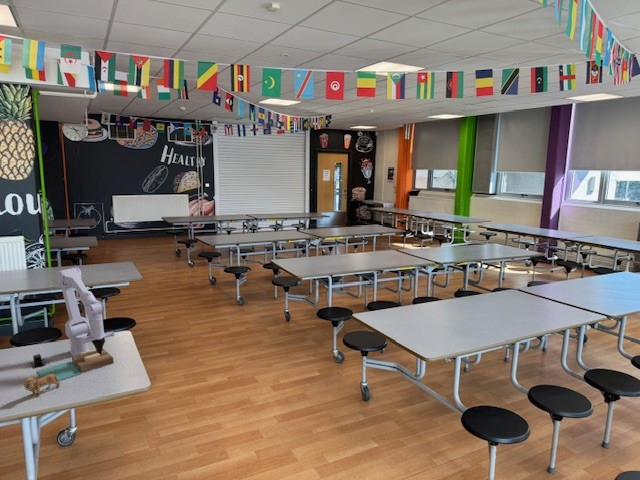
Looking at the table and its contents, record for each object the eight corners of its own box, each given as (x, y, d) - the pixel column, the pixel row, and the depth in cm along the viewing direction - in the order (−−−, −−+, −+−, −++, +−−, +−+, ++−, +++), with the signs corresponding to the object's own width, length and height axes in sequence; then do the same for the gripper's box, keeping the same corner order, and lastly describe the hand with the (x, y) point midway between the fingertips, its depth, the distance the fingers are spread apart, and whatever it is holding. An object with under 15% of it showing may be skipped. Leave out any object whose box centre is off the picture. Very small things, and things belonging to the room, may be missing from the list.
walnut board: (72, 362, 208) (71, 356, 207) (103, 353, 217) (102, 347, 217) (81, 373, 196) (81, 367, 196) (113, 363, 206) (113, 357, 205)
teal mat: (37, 371, 199) (37, 370, 198) (70, 361, 208) (70, 361, 208) (45, 385, 186) (45, 384, 186) (81, 374, 195) (81, 373, 195)
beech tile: (81, 356, 207) (80, 352, 207) (94, 352, 211) (94, 348, 211) (86, 362, 200) (86, 358, 200) (100, 358, 205) (99, 354, 204)
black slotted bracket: (28, 363, 209) (26, 354, 208) (45, 358, 214) (44, 349, 213) (31, 371, 200) (30, 362, 199) (49, 366, 204) (48, 357, 204)
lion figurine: (31, 402, 172) (28, 381, 170) (22, 400, 174) (19, 379, 172) (64, 385, 185) (61, 365, 184) (55, 383, 187) (52, 364, 186)
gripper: (82, 333, 198) (85, 360, 201) (115, 325, 208) (117, 351, 210) (78, 329, 203) (81, 356, 206) (110, 321, 213) (112, 347, 215)
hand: (99, 353), depth 208 cm, fingers closed
